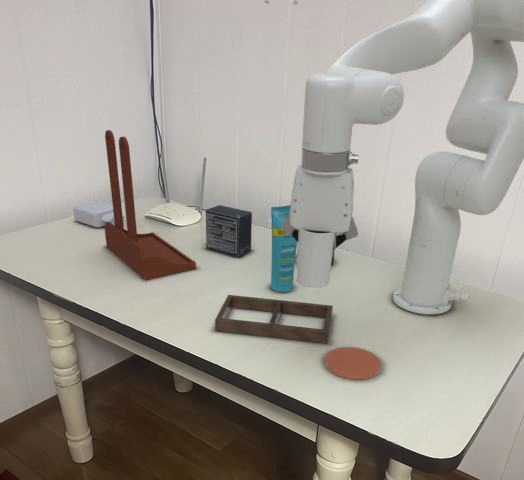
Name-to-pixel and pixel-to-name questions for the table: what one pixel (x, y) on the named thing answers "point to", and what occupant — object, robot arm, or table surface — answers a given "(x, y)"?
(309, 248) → the white cup
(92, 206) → the charger
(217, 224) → the small box
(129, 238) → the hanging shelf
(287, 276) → the tube
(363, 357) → the coaster
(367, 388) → the table surface
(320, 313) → the rack
